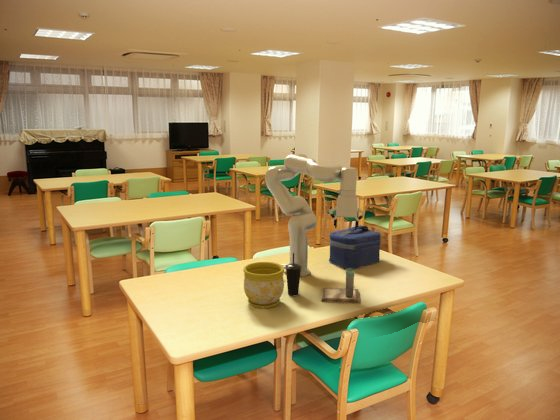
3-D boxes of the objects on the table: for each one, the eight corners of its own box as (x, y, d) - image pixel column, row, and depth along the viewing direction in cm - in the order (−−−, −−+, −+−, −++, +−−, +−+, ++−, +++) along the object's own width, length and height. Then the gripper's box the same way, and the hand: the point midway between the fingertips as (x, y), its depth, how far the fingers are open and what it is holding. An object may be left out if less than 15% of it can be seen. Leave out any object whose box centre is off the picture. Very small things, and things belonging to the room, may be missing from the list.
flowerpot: (269, 314, 184) (269, 277, 181) (235, 305, 194) (234, 270, 190) (291, 300, 199) (291, 265, 196) (258, 292, 209) (258, 259, 205)
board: (321, 301, 198) (321, 298, 198) (322, 289, 212) (322, 286, 212) (359, 303, 196) (359, 300, 196) (358, 291, 210) (358, 288, 210)
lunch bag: (359, 252, 273) (360, 220, 269) (387, 260, 257) (389, 226, 253) (324, 262, 254) (325, 227, 250) (351, 271, 238) (353, 235, 234)
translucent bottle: (345, 297, 199) (346, 270, 196) (345, 294, 202) (345, 267, 200) (353, 298, 198) (354, 270, 196) (353, 295, 202) (354, 268, 199)
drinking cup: (289, 298, 202) (290, 256, 198) (282, 292, 208) (282, 252, 204) (304, 295, 205) (304, 254, 201) (296, 289, 212) (296, 250, 208)
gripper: (329, 193, 207) (327, 228, 211) (366, 195, 205) (364, 231, 208) (329, 191, 214) (328, 225, 218) (365, 192, 212) (363, 227, 216)
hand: (345, 227), depth 213 cm, fingers open, 9 cm apart
